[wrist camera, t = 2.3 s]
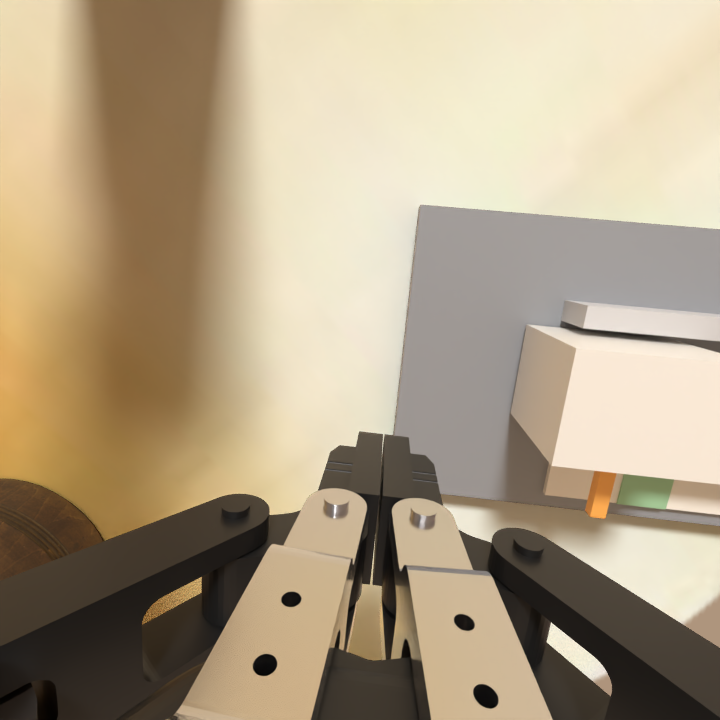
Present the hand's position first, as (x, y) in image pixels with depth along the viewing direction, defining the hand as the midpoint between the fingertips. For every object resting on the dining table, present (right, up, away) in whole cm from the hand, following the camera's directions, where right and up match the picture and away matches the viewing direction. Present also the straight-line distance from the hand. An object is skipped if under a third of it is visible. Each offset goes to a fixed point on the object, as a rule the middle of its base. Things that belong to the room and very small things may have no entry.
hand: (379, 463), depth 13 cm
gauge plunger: (+13, 0, +13) cm, 19 cm away
